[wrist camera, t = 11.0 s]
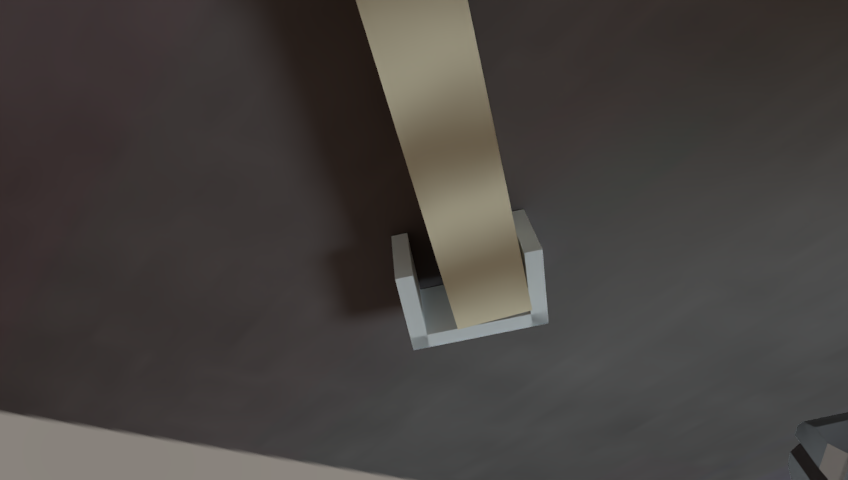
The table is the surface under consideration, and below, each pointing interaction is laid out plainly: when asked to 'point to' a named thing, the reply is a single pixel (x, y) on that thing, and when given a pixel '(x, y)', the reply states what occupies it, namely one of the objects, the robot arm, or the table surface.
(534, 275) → the cap
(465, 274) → the tan wooden beam
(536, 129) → the table surface
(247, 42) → the table surface
